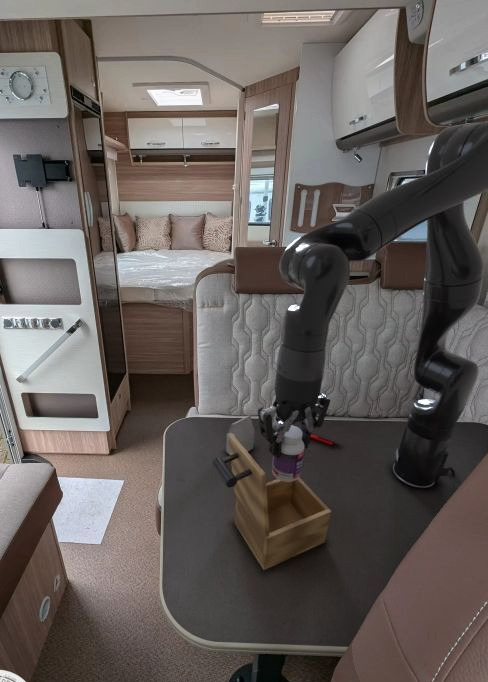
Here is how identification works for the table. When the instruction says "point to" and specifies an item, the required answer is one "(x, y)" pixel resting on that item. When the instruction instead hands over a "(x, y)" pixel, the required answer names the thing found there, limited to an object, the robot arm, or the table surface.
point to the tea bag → (242, 433)
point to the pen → (323, 440)
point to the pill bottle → (289, 456)
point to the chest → (285, 523)
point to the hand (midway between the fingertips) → (289, 450)
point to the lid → (245, 482)
